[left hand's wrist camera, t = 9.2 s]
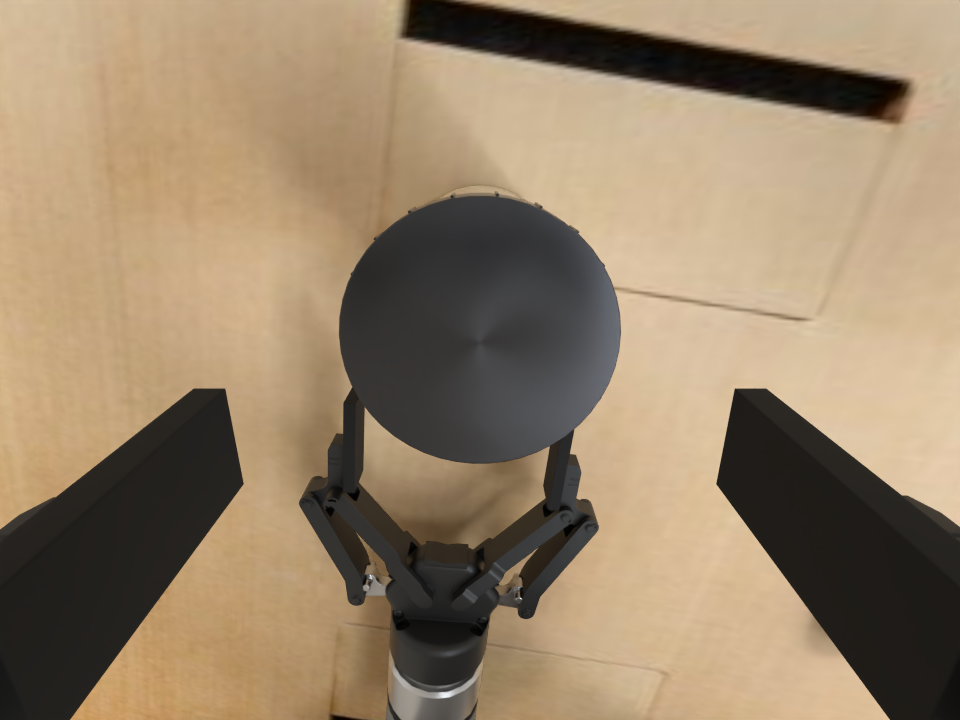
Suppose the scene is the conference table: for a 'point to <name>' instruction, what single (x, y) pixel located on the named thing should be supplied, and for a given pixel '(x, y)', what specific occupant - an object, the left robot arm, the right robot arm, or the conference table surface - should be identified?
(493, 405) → the lid
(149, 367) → the conference table surface
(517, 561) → the right robot arm
